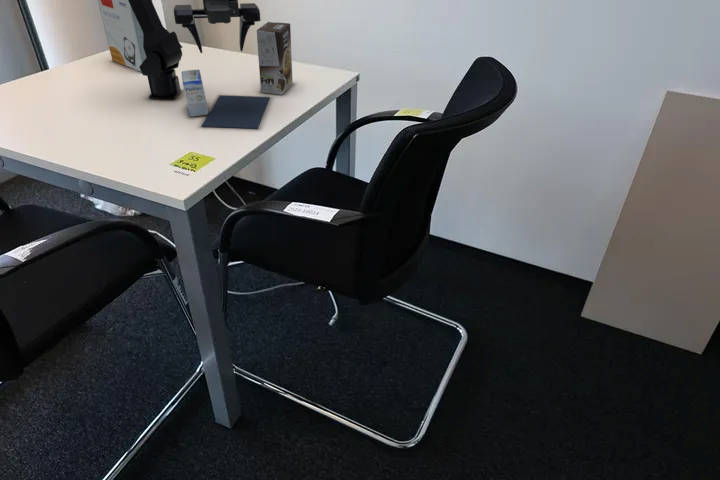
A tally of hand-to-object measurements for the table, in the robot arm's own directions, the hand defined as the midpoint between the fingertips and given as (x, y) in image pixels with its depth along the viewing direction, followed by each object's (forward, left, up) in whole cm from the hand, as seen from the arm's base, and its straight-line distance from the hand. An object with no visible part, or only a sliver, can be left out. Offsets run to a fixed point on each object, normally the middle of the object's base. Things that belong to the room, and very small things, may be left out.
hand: (221, 51), depth 127 cm
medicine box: (-6, -3, -14) cm, 15 cm away
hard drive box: (-32, +29, -14) cm, 45 cm away
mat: (+3, -3, -13) cm, 14 cm away
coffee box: (+11, +13, -14) cm, 22 cm away
